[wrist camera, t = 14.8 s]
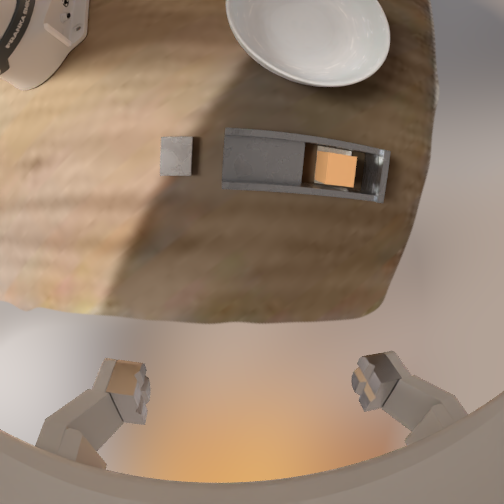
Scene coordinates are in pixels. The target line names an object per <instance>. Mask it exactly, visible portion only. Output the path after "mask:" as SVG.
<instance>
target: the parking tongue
mask: <svg viewBox="0 0 504 504" xmlns="http://www.w3.org/2000/svg"><path fill="white" fill-rule="evenodd" d="M192 151H193V137H161V156H160V176H191V175H192Z"/></svg>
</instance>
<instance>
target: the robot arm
mask: <svg viewBox="0 0 504 504" xmlns="http://www.w3.org/2000/svg"><path fill="white" fill-rule="evenodd" d="M88 10H89V0H0V79H2V80H5V81H7V82H9V83H10V84H12V85H13V86H14V87H16V88H17V89H19V90H29V89H32V88H35V87H37V86H39V85H40V84H42V83H43V82H44V81H46V80H47V79H48V78H49V77H50V76H51V75H52V74H53V73H54V72H55V71H56V70H57V69H58V67H59V66H60V65H61V63H62V62H63V61H64V59H65V58H66V56H67V55H68V53H69V52H70V51H71V50H72V49H73V48H74V47H76V46H77V45H78V44H79V43H80V42H81V41H82V40H83V39H84V38H85V37H86V35H87V25H88ZM79 28H80V30H78V29H79ZM357 364H358V365H359V367H358V368H357V369H356V370H355V371H354V372H353V375H352V387H353V389H354V392H355V393H357V394H358V395H360V397H359V402H360V404H361V406H362V408H363V410H364V412H366V411H371V410H375V409H379V408H382V410H384V411H385V412H386V413H388V414H389V415H390V416H392V417H393V418H394V419H396V420H397V421H398V422H400V423H401V424H402V425H404V426H405V427H406V428H408V429H409V430H410V431H412V432H411V433H410V434H409V435H408V437H407V438H406V439H405V443H406V445H407V446H405V447H402V448H400V449H397V450H395V451H392V452H389V453H387V454H384V455H381V456H378V457H375V458H372V459H369V460H366V461H362V462H359V463H356V464H352V465H349V466H345V467H341V468H337V469H333V470H329V471H324V472H319V473H314V474H310V475H304V476H298V477H291V478H284V479H276V480H267V481H255V482H238V483H198V482H181V481H169V480H160V479H152V478H145V477H139V476H133V475H128V474H122V473H118V472H113V471H109V470H106V465H107V464H106V463H105V461H104V460H103V459H102V458H101V457H100V456H99V454H98V453H97V451H98V449H99V448H100V447H101V446H102V445H103V444H104V443H105V442H106V441H107V440H108V439H109V438H110V437H111V436H112V435H113V434H114V433H115V432H116V431H117V430H118V428H119V427H120V426H121V425H122V424H123V422H127V423H134V424H144V425H145V422H146V416H147V408H146V405H145V404H147V403H148V402H149V398H150V382H149V378H148V377H146V375H145V374H146V367H145V364H144V363H139V362H131V361H124V360H116V359H110V358H106V359H104V361H103V362H102V365H101V367H100V369H99V372H98V374H97V377H96V380H95V382H94V385H93V388H92V390H91V389H88V390H86V391H85V392H83V393H82V394H80V395H79V396H78V397H76V398H75V399H74V400H72V401H71V402H69V403H68V404H66V405H65V406H63V407H62V408H61V409H59V410H58V411H57V412H55V413H53V414H52V415H51V416H49V417H48V418H46V419H45V422H44V424H43V427H42V429H41V432H40V435H39V437H38V440H37V443H36V445H35V446H33V445H31V444H29V443H27V442H24V441H22V440H20V439H18V438H16V437H14V436H12V435H10V434H8V433H6V432H4V431H2V430H1V429H0V504H504V391H503V392H502V393H500V394H499V395H498V396H496V397H495V398H493V399H492V400H490V401H489V402H487V403H486V404H485V405H483V406H481V407H480V408H478V409H477V410H475V411H474V412H472V413H470V414H469V415H468V414H467V412H466V411H465V409H464V408H463V406H462V405H461V404H460V403H459V401H458V399H457V398H456V397H455V395H453V394H450V393H449V392H447V391H445V390H442V389H440V388H439V387H437V386H435V385H433V384H431V383H429V382H427V381H425V380H423V379H421V378H419V377H417V376H415V375H413V376H412V375H411V374H410V372H409V371H408V370H407V368H406V367H405V365H404V364H403V363H402V361H401V360H400V358H399V357H398V356H397V355H396V353H395V352H394V351H389V352H384V353H378V354H373V355H367V356H362V357H361V358H360V359H359V361H358V363H357Z"/></svg>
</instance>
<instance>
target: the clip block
mask: <svg viewBox="0 0 504 504" xmlns="http://www.w3.org/2000/svg"><path fill="white" fill-rule="evenodd" d="M356 162H357V157H354V156H348V155H342V154H336V153H330V152H322V151H318V152H317V162H316V171H315V180H317V181H319V182H322V183H324V184H329V185H338V186H346V187H353V186H354V178H355V171H356Z"/></svg>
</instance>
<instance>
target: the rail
mask: <svg viewBox="0 0 504 504" xmlns="http://www.w3.org/2000/svg"><path fill="white" fill-rule="evenodd" d="M305 143H309V144H316V145H323V146H329V147H335V148H341V149H347V150H352V151H357V152H363V153H366V154H365V162H364V170H363V178H362V185H361V189H354V188H346V186H345V187H338V185H337V186H329V184H328V185H320V184H324V183H322V182H319V181H317V180H315V175H314V183H319V184H311V183H301V180H302V170H303V160H304V150H305ZM323 146H317V152H318V151H322V152H330V153H336V154H342V155H348V156H351V155H352V151H347V150H341V149H335V148H329V147H323ZM390 152H391V151H387V150H382V149H378V148H373V147H369V146H364V145H359V144H355V143H349V142H344V141H339V140H333V139H327V138H321V137H315V136H308V135H301V134H293V133H285V132H276V131H265V130H254V129H239V128H226V129H225V138H224V153H223V170H222V189H236V190H256V191H272V192H287V193H299V194H311V195H322V196H332V197H341V198H350V199H359V200H367V201H375V202H378V203H383V201H384V195H385V189H386V183H387V176H388V168H389V160H390ZM316 162H317V156H316ZM315 171H316V165H315Z"/></svg>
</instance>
